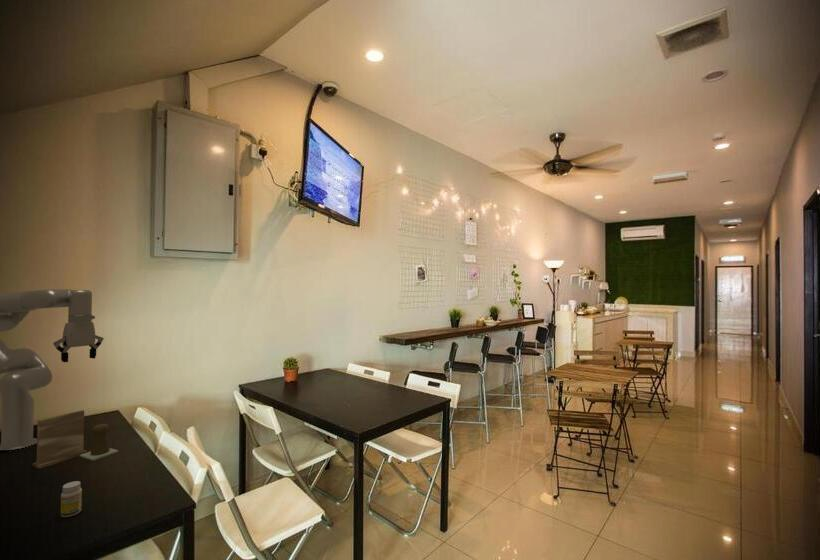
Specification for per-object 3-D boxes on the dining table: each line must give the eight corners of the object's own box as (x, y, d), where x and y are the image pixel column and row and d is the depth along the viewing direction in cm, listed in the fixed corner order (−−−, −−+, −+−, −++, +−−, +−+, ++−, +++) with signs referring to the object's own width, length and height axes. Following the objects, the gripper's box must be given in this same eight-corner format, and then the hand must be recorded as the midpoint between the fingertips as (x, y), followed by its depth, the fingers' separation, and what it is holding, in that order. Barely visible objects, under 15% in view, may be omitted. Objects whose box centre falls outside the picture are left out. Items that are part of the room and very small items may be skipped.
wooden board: (32, 466, 145) (33, 420, 146) (80, 451, 159) (81, 409, 159) (39, 468, 143) (40, 422, 144) (87, 453, 157) (88, 410, 157)
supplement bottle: (69, 508, 117) (69, 480, 118) (85, 508, 118) (86, 479, 118) (55, 518, 113) (56, 488, 113) (73, 517, 113) (74, 488, 113)
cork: (98, 456, 153) (99, 427, 153) (86, 454, 154) (86, 426, 154) (113, 449, 159) (113, 422, 159) (101, 448, 160) (101, 421, 160)
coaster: (79, 456, 154) (79, 455, 154) (105, 448, 162) (105, 446, 162) (92, 460, 150) (92, 459, 150) (118, 451, 158) (118, 450, 158)
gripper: (98, 317, 173) (97, 356, 173) (49, 320, 158) (48, 362, 157) (108, 318, 170) (107, 357, 170) (59, 321, 154) (58, 364, 154)
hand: (79, 360), depth 164 cm, fingers open, 9 cm apart
